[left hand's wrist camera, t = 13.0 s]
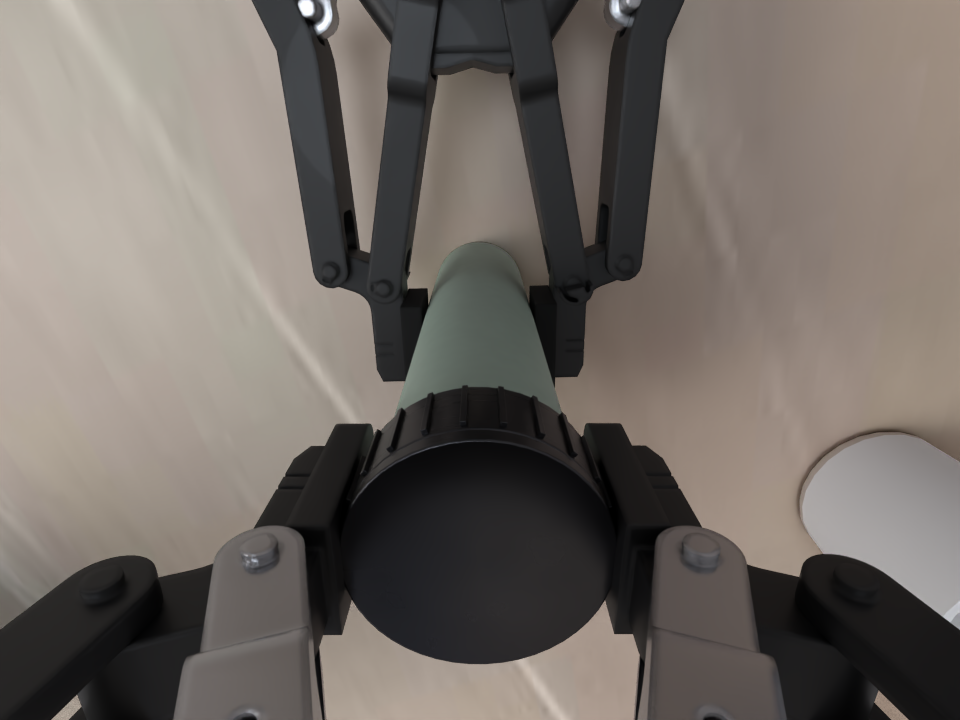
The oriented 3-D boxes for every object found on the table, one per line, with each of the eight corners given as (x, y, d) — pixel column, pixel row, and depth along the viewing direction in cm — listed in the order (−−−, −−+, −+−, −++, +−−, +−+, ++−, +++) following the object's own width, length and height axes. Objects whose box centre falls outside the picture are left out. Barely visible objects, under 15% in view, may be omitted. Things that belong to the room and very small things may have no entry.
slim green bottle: (491, 225, 26) (515, 397, 9) (536, 295, 28) (637, 571, 10) (420, 271, 27) (312, 517, 10) (467, 338, 29) (448, 663, 11)
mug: (850, 399, 30) (1028, 523, 20) (985, 454, 31) (1214, 596, 21) (739, 554, 33) (844, 722, 24) (864, 597, 35) (1012, 774, 25)
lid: (517, 333, 10) (526, 377, 8) (642, 520, 12) (674, 594, 10) (307, 462, 11) (272, 528, 9) (448, 619, 12) (442, 703, 11)
